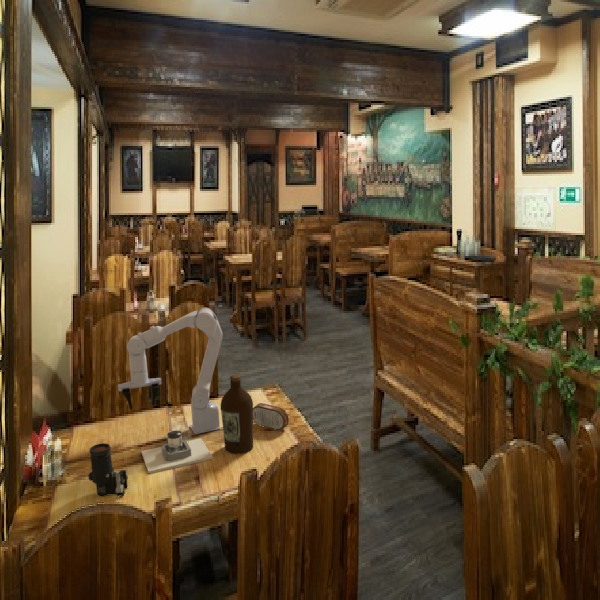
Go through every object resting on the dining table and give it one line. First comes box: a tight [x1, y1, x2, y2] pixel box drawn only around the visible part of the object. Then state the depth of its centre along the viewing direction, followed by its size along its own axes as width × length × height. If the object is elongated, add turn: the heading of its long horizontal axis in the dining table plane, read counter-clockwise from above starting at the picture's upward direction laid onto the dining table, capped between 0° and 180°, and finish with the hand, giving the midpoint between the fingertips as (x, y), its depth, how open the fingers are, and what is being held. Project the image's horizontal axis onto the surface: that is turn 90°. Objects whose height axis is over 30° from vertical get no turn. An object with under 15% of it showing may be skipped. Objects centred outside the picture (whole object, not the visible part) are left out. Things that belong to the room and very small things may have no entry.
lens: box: [166, 429, 183, 453], centre depth 169 cm, size 4×4×7 cm
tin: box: [253, 402, 290, 431], centre depth 189 cm, size 15×3×8 cm, turn 58°
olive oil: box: [220, 374, 254, 455], centre depth 172 cm, size 11×11×25 cm
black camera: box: [87, 442, 129, 498], centre depth 148 cm, size 8×14×10 cm
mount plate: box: [141, 437, 213, 474], centre depth 170 cm, size 20×15×3 cm
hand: (142, 406), depth 186 cm, fingers open, 7 cm apart
